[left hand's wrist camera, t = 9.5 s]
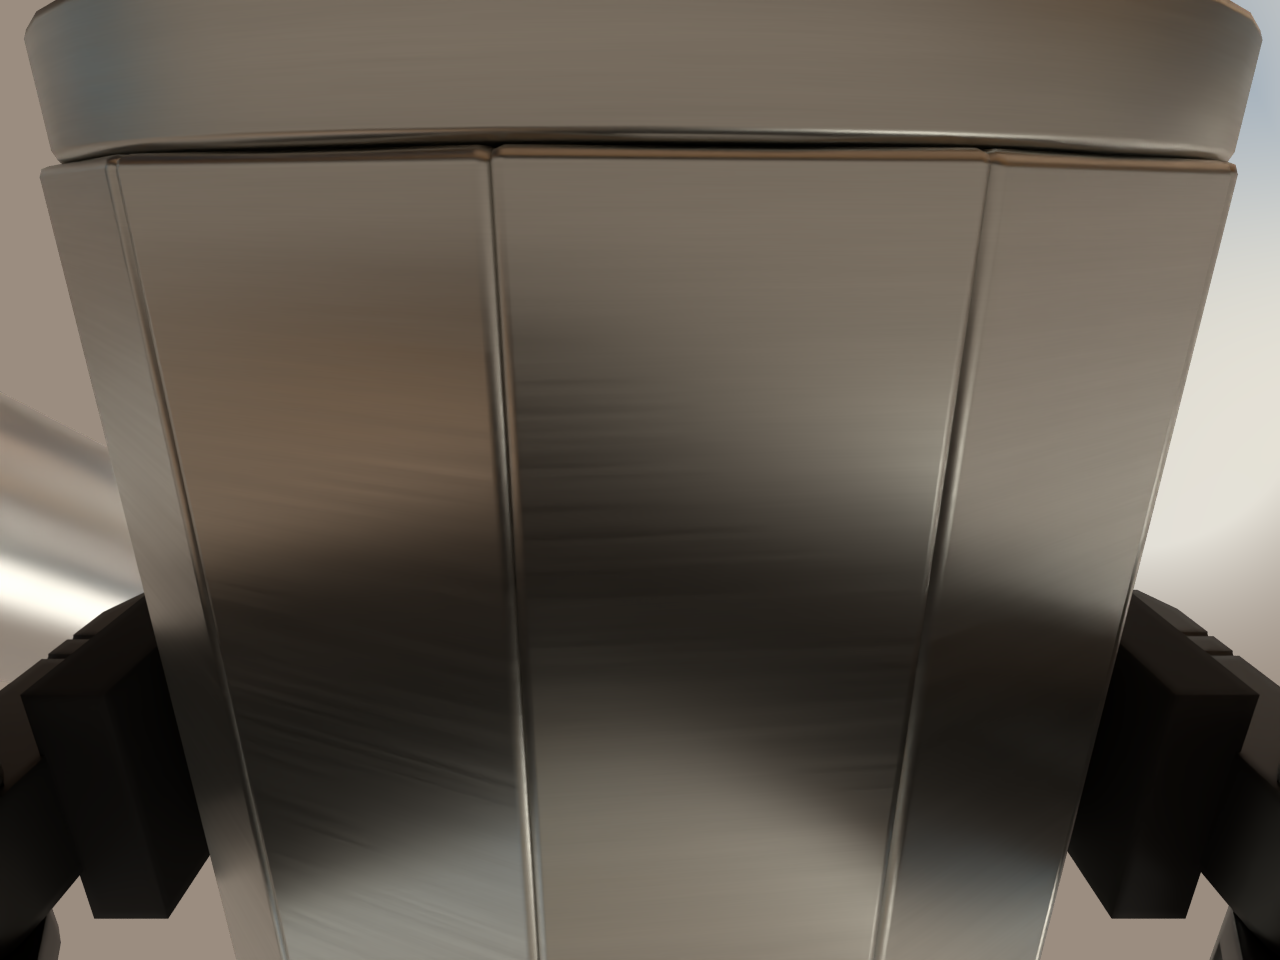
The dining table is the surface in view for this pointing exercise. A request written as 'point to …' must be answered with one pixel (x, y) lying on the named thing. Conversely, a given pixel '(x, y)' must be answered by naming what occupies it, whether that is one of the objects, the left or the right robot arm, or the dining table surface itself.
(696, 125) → the beaker
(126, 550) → the right robot arm
